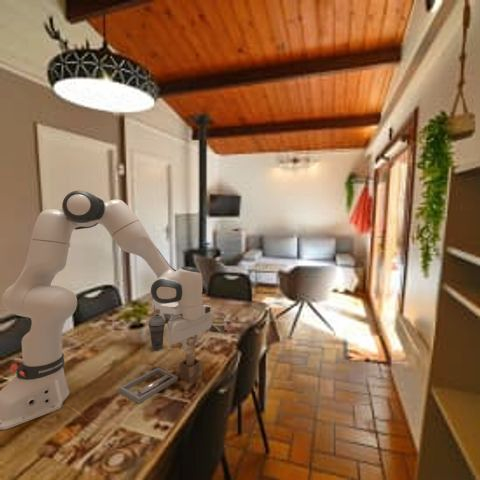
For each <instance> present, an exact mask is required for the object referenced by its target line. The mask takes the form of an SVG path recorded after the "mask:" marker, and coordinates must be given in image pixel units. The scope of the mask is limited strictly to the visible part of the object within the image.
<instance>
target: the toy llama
mask: <svg viewBox="0 0 480 480" xmlns="http://www.w3.org/2000/svg"><path fill="white" fill-rule="evenodd" d="M154 305H155V310H159V315H161V316H162V317H163V318H164V321H165V323H167V321H169V320H170V319H171V317H174V316H177V315H178V302H173V303H166V304H162V303H158V302H157V301H155V300H154V299H153V297H152V296H151V309H152V310H154Z"/></svg>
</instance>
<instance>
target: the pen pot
mask: <svg viewBox="0 0 480 480" xmlns="http://www.w3.org/2000/svg"><path fill="white" fill-rule="evenodd" d="M202 377H203V361H202V360H199V359H198V358H195V357H194V365H192V366H191V367H190V366H188V365H186V358H185V359H184V360H181V361H180V362H178V379H180V380H182V381H185V382H186V383H189V384H191V383H193V382H195V381H196V380H198V379H200V378H202Z"/></svg>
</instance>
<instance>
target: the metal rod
mask: <svg viewBox="0 0 480 480" xmlns="http://www.w3.org/2000/svg"><path fill="white" fill-rule="evenodd" d="M168 380H170V377H169V375H165V376H164V375H162V376H161V377H159V378H157V379H156V380H154V381H152V382H151V383H148V384H147V385H144V386H143V387H141V388H140V389H138V391H137V395H138V396H139V397H140V396H142V395H144V394H145V393H147V392H149V391H151V390H152V389H154V388H156V387H158V386H159V385H161V384H163V383H165V382H166V381H168Z"/></svg>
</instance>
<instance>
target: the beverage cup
mask: <svg viewBox="0 0 480 480" xmlns="http://www.w3.org/2000/svg"><path fill="white" fill-rule="evenodd" d="M153 313H154V315H152V316H151V317H150V319H149V321H148V327H149V334H150V335H149V336H150V341H151V348H152V351H160V350H162V349H163V345H164V344H163V343H164V333H165V330H164V329H165V325H166V322H165V321H164V318H163V317H162V316H161V315H160V314H157V313H156V309H155V305H154V309H153Z"/></svg>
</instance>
